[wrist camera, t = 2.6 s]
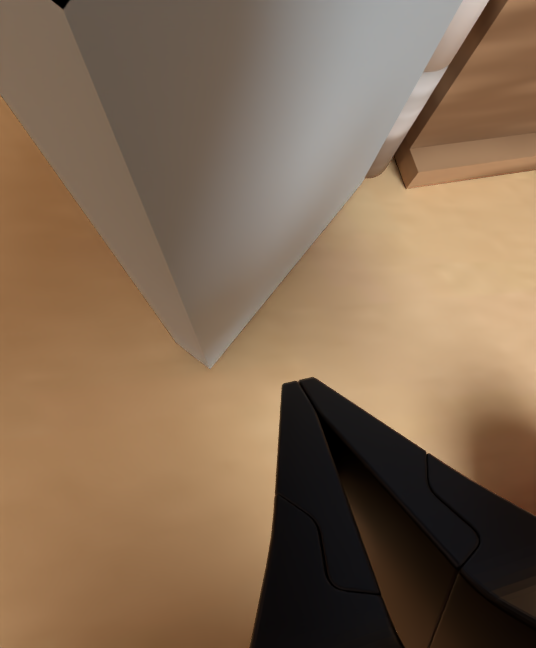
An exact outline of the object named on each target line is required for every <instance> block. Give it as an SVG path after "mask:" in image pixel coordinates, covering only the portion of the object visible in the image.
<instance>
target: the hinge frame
mask: <svg viewBox="0 0 536 648" xmlns="http://www.w3.org/2000/svg"><path fill="white" fill-rule="evenodd" d="M393 155H394V157H395V159H396V162H397V165H398V168H399V170H400V173H401V176H402V179H403V181H404V184H405V187H406V189H408V188H415V187H422V186H429V185H435V184H442V183H449V182H456V181H463V180H470V179H476V178H483V177H490V176H497V175H504V174H511V173H517V172H524V171H531V170H536V0H489V1H488V3H487V5H486V6H485V8H484V10H483V11H482V13H481V14H480V16H479V18H478V19H477V21H476V22H475V24H474V26H473V27H472V29H471V31H470V32H469V34H468V35H467V37H466V39H465V40H464V42H463V44H462V45H461V47H460V48H459V50H458V52H457V53H456V55H455V57H454V58H453V60H452V61H451V63H450V64H449V65H448V66H446V67H445V68H443V69H441V70H438V71H434V72H423V73H422V75H421V77H420V79H419V80H418V82H417V84H416V86H415V88H414V89H413V91H412V93H411V95H410V97H409V98H408V100H407V102H406V104H405V106H404V107H403V109H402V111H401V113H400V115H399V117H398V118H397V120H396V122H395V124H394V126H393V127H392V129H391V131H390V133H389V135H388V136H387V138H386V140H385V142H384V144H383V145H382V147H381V149H380V151H379V153H378V154H377V156H376V158H375V160H374V162H373V163H372V165H371V167H370V169H369V171H368V172H367V174H366V176H365V178H373V177H376V176H378V175H380V174H381V173H382V172H383V171H384V170H385V168H386V167H387V165H388V164H389V162H390V160H391V159H392V157H393Z"/></svg>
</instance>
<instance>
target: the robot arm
mask: <svg viewBox="0 0 536 648" xmlns="http://www.w3.org/2000/svg"><path fill="white" fill-rule="evenodd" d="M396 631H397V632H396ZM249 648H536V516H535V515H533V514H531V513H529V512H527V511H526V510H524V509H522V508H520V507H518V506H517V505H515V504H513V503H511V502H509V501H508V500H506V499H504V498H502V497H500V496H498V495H497V494H495V493H493V492H491V491H490V490H488V489H486V488H484V487H483V486H481V485H479V484H477V483H476V482H474V481H472V480H470V479H469V478H467V477H466V476H464V475H462V474H461V473H459V472H458V471H456V470H454V469H453V468H451V467H450V466H448V465H446V464H445V463H443V462H442V461H440V460H439V459H437V458H436V457H434V456H433V455H431V454H430V453H428V454H426V451H425V450H423V449H422V448H420V447H419V446H417V445H416V444H414V443H413V442H411V441H410V440H408V439H407V438H405V437H404V436H402V435H401V434H399V433H398V432H396V431H395V430H393V429H392V428H390V427H389V426H387V425H386V424H384V423H383V422H381V421H380V420H378V419H377V418H375V417H374V416H372V415H371V414H369V413H368V412H366V411H364V410H363V409H361V408H360V407H358V406H357V405H355V404H354V403H352V402H351V401H349V400H348V399H346V398H345V397H343V396H342V395H340V394H339V393H337V392H336V391H334V390H333V389H331V388H330V387H328V386H327V385H325V384H324V383H322V382H321V381H319V380H318V379H316V378H314V377H310V378H306V379H301V380H299V381H298V382H297V381H292V382H288V383H284V384H283V385H282V391H281V407H280V423H279V438H278V454H277V469H276V485H275V498H274V513H273V523H272V533H271V541H270V546H269V552H268V558H267V564H266V569H265V574H264V579H263V584H262V589H261V594H260V599H259V604H258V609H257V613H256V618H255V623H254V628H253V633H252V638H251V643H250V647H249Z"/></svg>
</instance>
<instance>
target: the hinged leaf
mask: <svg viewBox="0 0 536 648" xmlns="http://www.w3.org/2000/svg"><path fill="white" fill-rule="evenodd" d="M488 1H489V0H0V95H1V96H2V98H3V99H4V100H5V102H6V103H7V105H8V106H9V107H10V109H11V110H12V112H13V113H14V115H15V116H16V117H17V119H18V120H19V122H20V123H21V124H22V126H23V127H24V129H25V130H26V131H27V133H28V134H29V136H30V137H31V139H32V140H33V141H34V143H35V144H36V146H37V147H38V148H39V150H40V151H41V153H42V154H43V155H44V157H45V158H46V160H47V161H48V163H49V164H50V165H51V167H52V168H53V170H54V171H55V172H56V174H57V175H58V177H59V178H60V179H61V181H62V182H63V184H64V185H65V187H66V188H67V189H68V191H69V192H70V194H71V195H72V196H73V198H74V199H75V201H76V202H77V203H78V205H79V206H80V208H81V209H82V211H83V212H84V213H85V215H86V216H87V218H88V219H89V220H90V222H91V223H92V225H93V226H94V227H95V229H96V230H97V232H98V233H99V235H100V236H101V237H102V239H103V240H104V242H105V243H106V244H107V246H108V247H109V249H110V250H111V251H112V253H113V254H114V256H115V257H116V259H117V260H118V261H119V263H120V264H121V266H122V267H123V268H124V270H125V271H126V273H127V274H128V275H129V277H130V278H131V280H132V281H133V283H134V284H135V285H136V287H137V288H138V290H139V291H140V292H141V294H142V295H143V297H144V298H145V299H146V301H147V302H148V304H149V305H150V307H151V308H152V309H153V311H154V312H155V314H156V315H157V316H158V318H159V319H160V321H161V322H162V323H163V325H164V326H165V328H166V329H167V331H168V332H169V333H170V335H171V336H172V338H173V339H174V340H175V342H176V343H177V344H178V345H180V346H181V347H182V348H183V349H185V350H186V351H187V352H189V353H190V354H191V355H192V356H194V357H195V358H196V359H197V360H199V361H200V362H201V363H203V364H204V365H205V366H206V367H208V368H209V369H211V368H212V366H213V365H214V364H215V363H216V362H217V360H218V359H219V358H220V357H221V355H222V354H223V353H224V352H225V350H226V349H227V348H228V347H229V346H230V344H231V343H232V342H233V341H234V339H235V338H236V337H237V336H238V335H239V333H240V332H241V331H242V330H243V328H244V327H245V326H246V325H247V323H248V322H249V321H250V320H251V319H252V317H253V316H254V315H255V314H256V312H257V311H258V310H259V309H260V308H261V306H262V305H263V304H264V303H265V301H266V300H267V299H268V298H269V296H270V295H271V294H272V293H273V292H274V290H275V289H276V288H277V287H278V285H279V284H280V283H281V282H282V281H283V279H284V278H285V277H286V276H287V274H288V273H289V272H290V271H291V269H292V268H293V267H294V266H295V265H296V263H297V262H298V261H299V260H300V258H301V257H302V256H303V255H304V254H305V252H306V251H307V250H308V249H309V247H310V246H311V245H312V244H313V242H314V241H315V240H316V239H317V238H318V236H319V235H320V234H321V233H322V231H323V230H324V229H325V228H326V226H327V225H328V224H329V223H330V222H331V220H332V219H333V218H334V217H335V215H336V214H337V213H338V212H339V211H340V209H341V208H342V207H343V206H344V204H345V203H346V202H347V201H348V199H349V198H350V197H351V196H352V195H353V193H354V192H355V191H356V190H357V188H358V187H359V186H360V185H361V183H362V182H363V180H364V178H365V176H366V174H367V172H368V171H369V169H370V167H371V165H372V163H373V162H374V160H375V158H376V156H377V154H378V153H379V151H380V149H381V147H382V145H383V144H384V142H385V140H386V138H387V136H388V135H389V133H390V131H391V129H392V127H393V126H394V124H395V122H396V120H397V118H398V117H399V115H400V113H401V111H402V109H403V107H404V106H405V104H406V102H407V100H408V98H409V97H410V95H411V93H412V91H413V89H414V88H415V86H416V84H417V82H418V80H419V79H420V77H421V75H422V73H423V72H434V71H438V70H441V69H443V68H445V67H446V66H448V65H449V64H450V63H451V61H452V60H453V58H454V57H455V55H456V53H457V52H458V50H459V48H460V47H461V45H462V44H463V42H464V40H465V39H466V37H467V35H468V34H469V32H470V31H471V29H472V27H473V26H474V24H475V22H476V21H477V19H478V18H479V16H480V14H481V13H482V11H483V10H484V8H485V6H486V5H487V3H488Z"/></svg>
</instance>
